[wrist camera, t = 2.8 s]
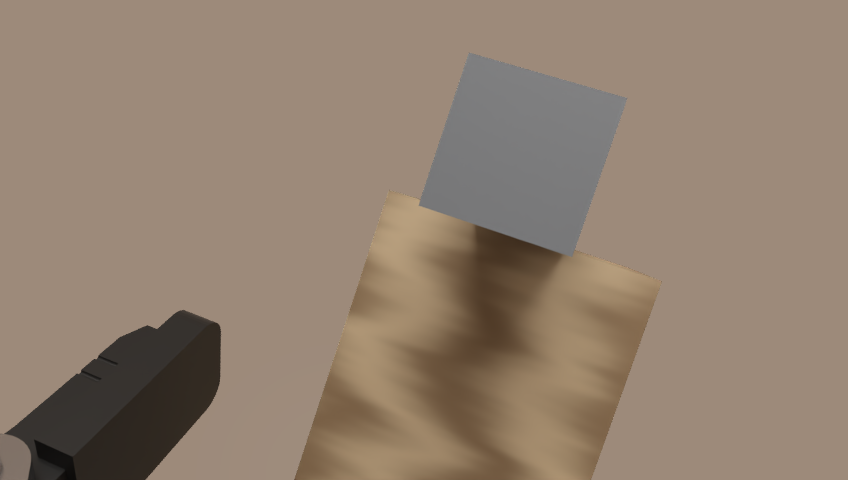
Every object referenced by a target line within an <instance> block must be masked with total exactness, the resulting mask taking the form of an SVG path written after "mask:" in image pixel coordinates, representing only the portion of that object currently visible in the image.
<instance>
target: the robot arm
mask: <svg viewBox="0 0 848 480" xmlns="http://www.w3.org/2000/svg"><path fill="white" fill-rule="evenodd" d="M220 330H221V329H220V326H219V324H218V323H215V322H213V321H210V320H208V319H205V318H203V317H200V316H198V315H195V314H193V313H190V312H187V311H185V310H182V311H178V312H177V313H175V314H174V315H173V316H172V317H170V318H169V319H168V320H167V321H166V322H165V323H164V324H163V325H161V326H160V327H159V328H158V329H155V328H153V327H150V326H145V327H142V328H140V329H138V330H136V331H133V332H131V333H129V334H126V335H124V336H122V337H120V338H118V339H117V340H116V341H115V342H114V343H113V344H112V345H110V346H109V347H108V348H107V349H105V350H104V351H103V352H102V353H101V354H100V355H99V356H98V358H97V359H94V360H92V361H91V362H90V363H89V364H88V365H87V366H85V367H84V368H83V369H82V370H81V373H80V374H76V375H75V376H74V377H72V378H71V379H70V380H69V381H68V382H66V383H65V384H64V385H63V386H62V387H61V388H59V389H58V390H57V391H56V392H55V393H54V394H53V395H51V396H50V397H49V398H48V399H46V400H45V401H44V402H43V403H42V404H40V405H39V406H38V407H37V408H36V409H35V410H33V411H32V412H31V413H30V414H29V415H28V416H27V417H25V418H24V419H23V420H22V421H20V422H19V423H18V424H17V425H16V426H15V427H13V428H12V429H11V430H9V431H8V432H7V433H5V434H0V480H145V479H146V478H147V477H148V476H149V475H150V474H151V473H152V472H153V470H154V469H155V468H156V467H157V466H158V465H159V464H160V462H161V461H162V460H163V459H164V457H166V455H167V454H168V453H169V452H170V451H171V450H172V448H173V447H174V446H175V445H176V444H177V443H178V442H179V440H180V439H181V438H182V437H183V436H184V435H185V434H186V433H187V431H188V430H189V429H190V428H191V427H192V425H194V423H195V422H196V421H197V420H198V419H199V418H200V416H201V415H202V414H203V413H204V412H205V411H206V410H207V408H208V407H209V406H210V404H211V402H212V401H213V399H214V397H215V395H216V392H217V390H218V386H219V382H220V346H221V344H220V343H221V331H220Z"/></svg>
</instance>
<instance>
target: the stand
mask: <svg viewBox="0 0 848 480" xmlns="http://www.w3.org/2000/svg"><path fill="white" fill-rule="evenodd" d="M420 200H421V199H418V198H414V197H411V196H407V195H404V194H400V193H397V192H394V191H390V190H389V192H388V195H387V198H386V201H385V204H384V207H383V211H382V214H381V217H380V220H379V223H378V226H377V229H376V232H375V235H374V238H373V241H372V244H371V247H370V250H369V253H368V256H367V259H366V262H365V266H364V268H363V272H362V274H361V278H360V281H359V284H358V287H357V291H356V293H355V296H354V299H353V302H352V305H351V308H350V311H349V314H348V317H347V320H346V323H345V326H344V330H343V333H342V336H341V339H340V342H339V345H338V348H337V351H336V354H335V357H334V360H333V363H332V366H331V369H330V372H329V376H328V379H327V381H326V384H325V388H324V391H323V394H322V397H321V400H320V403H319V406H318V409H317V412H316V415H315V418H314V421H313V424H312V427H311V431H310V434H309V436H308V440H307V443H306V446H305V449H304V452H303V455H302V458H301V461H300V464H299V467H298V470H297V473H296V476H295V479H294V480H591V478H592V475H593V472H594V470H595V467H596V464H597V462H598V459H599V456H600V453H601V450H602V448H603V445H604V442H605V439H606V436H607V434H608V431H609V428H610V425H611V422H612V420H613V417H614V414H615V411H616V408H617V406H618V403H619V400H620V397H621V394H622V392H623V389H624V386H625V383H626V380H627V377H628V375H629V372H630V369H631V366H632V363H633V361H634V358H635V355H636V353H637V349H638V347H639V344H640V341H641V338H642V336H643V333H644V330H645V327H646V324H647V322H648V318H649V316H650V313H651V310H652V308H653V305H654V302H655V299H656V297H657V294H658V291H659V288H660V285H661V283H662V281H660V280H657V279H655V278H652V277H650V276H647V275H645V274H642V273H640V272H638V271H635V270H632V269H630V268H627V267H624V266H621V265H618V264H615V263H612V262H609V261H606V260H603V259H600V258H597V257H594V256H591V255H588V254H585V253H582V252H579V251H576V250H574V253H573V256H572V257H570V256H567V255H564V254H561V253H558V252H555V251H552V250H549V249H546V248H543V247H541V246H538V245H535V244H532V243H529V242H526V241H523V240H520V239H517V238H514V237H511V236H508V235H505V234H502V233H499V232H496V231H493V230H490V229H487V228H484V227H481V226H478V225H475V224H472V223H469V222H466V221H463V220H460V219H457V218H454V217H451V216H448V215H445V214H442V213H439V212H436V211H433V210H430V209H427V208H424V207H422V206H419V203H420Z"/></svg>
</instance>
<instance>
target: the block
mask: <svg viewBox="0 0 848 480" xmlns="http://www.w3.org/2000/svg"><path fill="white" fill-rule="evenodd" d="M626 100H627V98H625V97H621V96H618V95H614V94H611V93H607V92H604V91H601V90H597V89H593V88H590V87H587V86H583V85H579V84H576V83H573V82H569V81H566V80H562V79H559V78H555V77H552V76H548V75H545V74H541V73H538V72H534V71H531V70H528V69H524V68H521V67H517V66H514V65H510V64H507V63H503V62H499V61H496V60H493V59H489V58H485V57H482V56H479V55H475V54H472V53H469V54H468V57H467V61H466V63H465V67H464V70H463V73H462V76H461V79H460V82H459V85H458V88H457V91H456V94H455V97H454V100H453V103H452V106H451V109H450V112H449V115H448V118H447V121H446V124H445V127H444V130H443V133H442V136H441V139H440V142H439V145H438V148H437V151H436V154H435V157H434V160H433V163H432V166H431V169H430V172H429V176H428V178H427V181H426V185H425V188H424V190H423V193H422V197H421V200H420V203H419V206H422V207H424V208H427V209H430V210H433V211H436V212H439V213H442V214H445V215H448V216H451V217H454V218H457V219H460V220H463V221H466V222H469V223H472V224H475V225H478V226H481V227H484V228H487V229H490V230H493V231H496V232H499V233H502V234H505V235H508V236H511V237H514V238H517V239H520V240H523V241H526V242H529V243H532V244H535V245H538V246H541V247H543V248H546V249H549V250H552V251H555V252H558V253H561V254H564V255H567V256H570V257H572V256H573V253H574V250H575V247H576V244H577V241H578V238H579V236H580V233H581V230H582V227H583V224H584V221H585V218H586V215H587V213H588V210H589V207H590V204H591V201H592V198H593V195H594V192H595V190H596V187H597V184H598V181H599V178H600V175H601V172H602V169H603V167H604V164H605V161H606V158H607V155H608V152H609V149H610V146H611V144H612V141H613V138H614V135H615V132H616V129H617V126H618V123H619V121H620V117H621V115H622V112H623V109H624V106H625V103H626Z"/></svg>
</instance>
